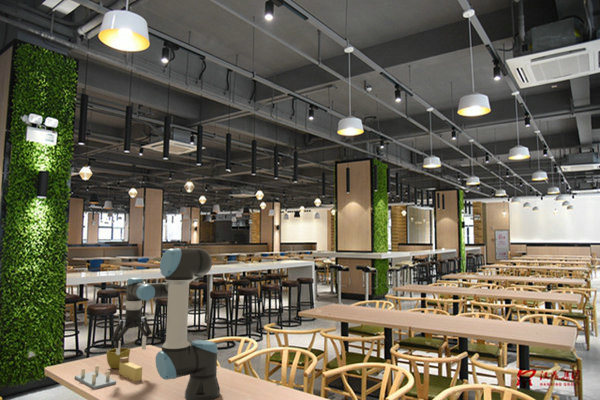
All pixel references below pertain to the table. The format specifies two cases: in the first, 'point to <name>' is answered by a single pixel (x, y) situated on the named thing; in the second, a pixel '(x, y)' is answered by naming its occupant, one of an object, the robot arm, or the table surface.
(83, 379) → the peg board
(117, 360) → the flower pot
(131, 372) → the pale yellow block
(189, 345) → the robot arm
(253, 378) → the table surface
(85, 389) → the table surface
